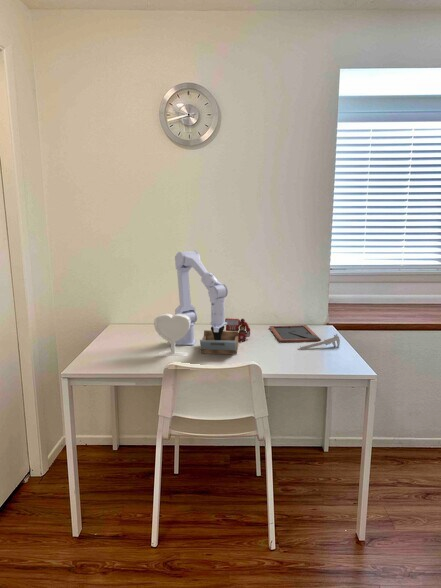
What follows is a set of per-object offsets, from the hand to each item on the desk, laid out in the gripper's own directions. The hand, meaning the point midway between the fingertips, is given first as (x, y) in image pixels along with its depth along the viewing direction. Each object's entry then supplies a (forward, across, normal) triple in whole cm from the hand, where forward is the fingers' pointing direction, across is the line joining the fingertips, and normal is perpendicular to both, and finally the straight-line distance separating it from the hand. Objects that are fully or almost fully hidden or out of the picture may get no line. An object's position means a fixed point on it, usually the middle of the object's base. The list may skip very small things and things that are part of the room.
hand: (217, 342), depth 180 cm
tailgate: (+4, +2, 0) cm, 4 cm away
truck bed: (+6, +8, 0) cm, 11 cm away
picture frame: (+7, +34, -36) cm, 50 cm away
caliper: (+6, +14, -45) cm, 48 cm away
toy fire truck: (+7, +24, -8) cm, 26 cm away
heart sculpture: (+6, +1, +20) cm, 21 cm away
